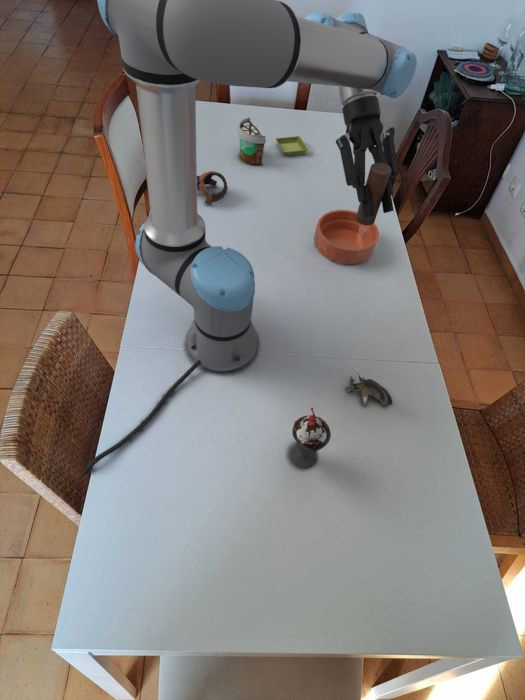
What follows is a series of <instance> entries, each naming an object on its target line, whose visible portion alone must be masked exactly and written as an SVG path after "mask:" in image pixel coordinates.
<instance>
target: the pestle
mask: <svg viewBox="0 0 525 700" xmlns="http://www.w3.org/2000/svg"><path fill="white" fill-rule="evenodd" d="M391 172H392V169H391V167H390V166H388V165H387V164H384V163H375V162H374V163H372V164H370V168H369V171H368V175H367V178H366V180H365V185H367V184H369V189H370V195H371V201H372V206H373V212H374V215H373V216H369V217H365V218H364V214H363V208H362V202H359V206H358V208H357V211H356V212H357V215H356V220H357V222H358V223H360V224H362V225H367V226H368V225H372V224H373V223H375V222H376V218H377V216H378V214H379V213H378V212H379V210H380V206H381V205H382V198H383V195H384V192H385V189H386V186H387V183H388V180H389V177H390V174H391Z"/></svg>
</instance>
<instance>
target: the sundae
mask: <svg viewBox="0 0 525 700" xmlns="http://www.w3.org/2000/svg"><path fill="white" fill-rule="evenodd" d="M310 411H311V412H312V414H310V415H303V416H301V417H299V418H297V420H295V421H294V424H293V426H292V431H291V433H292V437H293V439H294V440H295V445H294V446H293V447H292V448H291V449H290V452H289V457H290V461H291V462H292V463H293V464H294V465H295V466H296V467H298V468H302V469H306V468H307V469H308V468H310V467H311V466H313V465H314V463H315V461H316V459H317V455H316V452H317V451H320V450H322V449H323V448H325V447H326V446H327V445H328V444H329V442H330V440H331V437H332V432H331V429H330V427H329V424H328V423H327V422H326V421H325V420H324V419H323V418H321V417H320V416H317V415H315V412H314V407H313V406H311V408H310Z"/></svg>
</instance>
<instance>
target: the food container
mask: <svg viewBox="0 0 525 700" xmlns="http://www.w3.org/2000/svg"><path fill="white" fill-rule="evenodd" d="M236 134H237V136H238V137H239V158H240V160H241V161H242V162H243V163H245V164H247V165H251V166H262V165H263V159H264V158H263V157H264V149H265V144H266V142H267V141H266V140H267V139H266V135H262V133H261V132H260V131H259V128H258V127H257V126H255V125H254V124H253V123H252V121H251V117H246V118H243V119H241V120H240V122H239V124H238V127H237V133H236Z"/></svg>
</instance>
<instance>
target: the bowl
mask: <svg viewBox="0 0 525 700" xmlns="http://www.w3.org/2000/svg"><path fill="white" fill-rule="evenodd" d="M357 212H358V211H353V210H350V209H334V210H330V211H327V212H325V213H323V214H322V215H321V217H319V218H318V221H317V223H316V227H315V232H314V237H313V243H314V247H315V248H316V249H317V251H318V252H319V253H320V254H321V255H322V256H324V258H326V259H328V260H330V261H332V262H335V263H339V264H343V265H356V264H361V263H364V262H366V261H367V260H370V258H371V257H372V256H373V255H374V253H375V250H376V248H377V244H378V241H379V238H380V232H379V228H378V226H377V225H376V223H375V222H374V223H373V224H372V225H368V226H367V225H362V224H360V223H358V222H357V220H356V215H357Z"/></svg>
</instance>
